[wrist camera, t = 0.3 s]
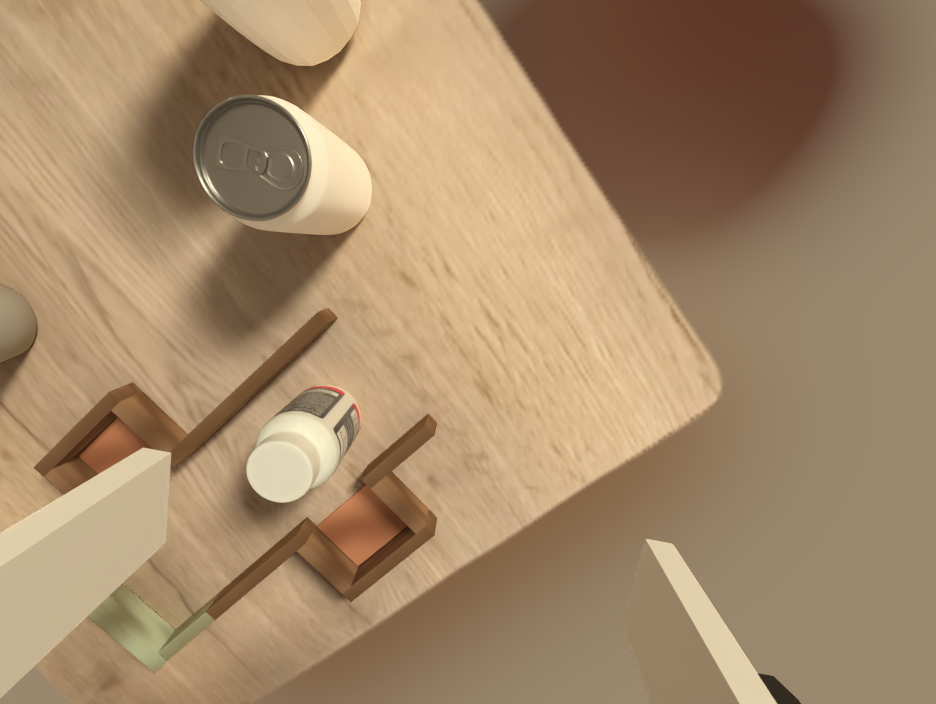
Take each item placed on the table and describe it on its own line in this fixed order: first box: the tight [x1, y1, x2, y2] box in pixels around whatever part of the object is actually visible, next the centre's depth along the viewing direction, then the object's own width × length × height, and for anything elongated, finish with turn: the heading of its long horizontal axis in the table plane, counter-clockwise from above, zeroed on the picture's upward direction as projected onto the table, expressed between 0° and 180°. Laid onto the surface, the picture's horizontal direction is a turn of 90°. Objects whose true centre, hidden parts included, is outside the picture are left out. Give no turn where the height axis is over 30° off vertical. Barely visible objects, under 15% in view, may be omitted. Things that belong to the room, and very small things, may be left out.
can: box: [192, 94, 372, 235], centre depth 29 cm, size 6×6×12 cm
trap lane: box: [34, 308, 437, 673], centre depth 38 cm, size 24×31×3 cm
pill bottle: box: [246, 384, 361, 503], centre depth 34 cm, size 5×5×10 cm
